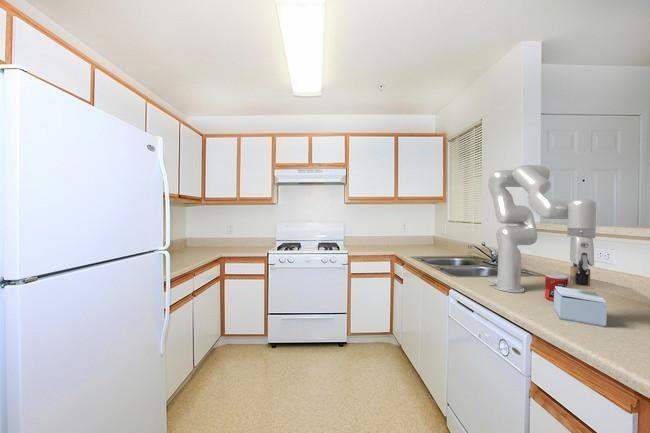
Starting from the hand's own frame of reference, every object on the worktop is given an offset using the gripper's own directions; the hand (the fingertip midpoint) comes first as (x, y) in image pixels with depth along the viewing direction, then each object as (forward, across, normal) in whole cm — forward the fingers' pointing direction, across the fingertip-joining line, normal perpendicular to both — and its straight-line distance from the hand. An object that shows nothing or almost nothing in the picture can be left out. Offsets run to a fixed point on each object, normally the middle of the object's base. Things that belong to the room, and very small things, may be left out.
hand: (579, 282), depth 100 cm
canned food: (+13, +21, +3) cm, 25 cm away
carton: (+13, 0, 0) cm, 13 cm away
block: (+1, 0, 0) cm, 1 cm away
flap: (+5, 0, 0) cm, 5 cm away
